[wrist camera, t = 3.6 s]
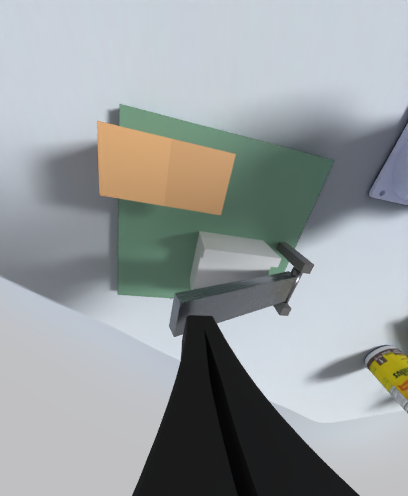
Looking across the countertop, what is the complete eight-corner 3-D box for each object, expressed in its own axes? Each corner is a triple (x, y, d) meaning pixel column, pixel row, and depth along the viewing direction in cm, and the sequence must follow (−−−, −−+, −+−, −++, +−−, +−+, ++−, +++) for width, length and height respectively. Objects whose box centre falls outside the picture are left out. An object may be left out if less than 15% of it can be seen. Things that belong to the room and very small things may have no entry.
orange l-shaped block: (215, 154, 13) (235, 154, 9) (206, 196, 15) (220, 215, 10) (127, 133, 12) (97, 120, 8) (125, 181, 13) (99, 195, 9)
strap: (296, 266, 16) (305, 271, 15) (282, 296, 17) (289, 302, 16) (175, 287, 10) (181, 297, 9) (168, 330, 11) (173, 341, 11)
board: (325, 159, 16) (384, 162, 11) (265, 298, 22) (288, 335, 17) (123, 107, 12) (94, 81, 8) (120, 287, 19) (103, 329, 14)
